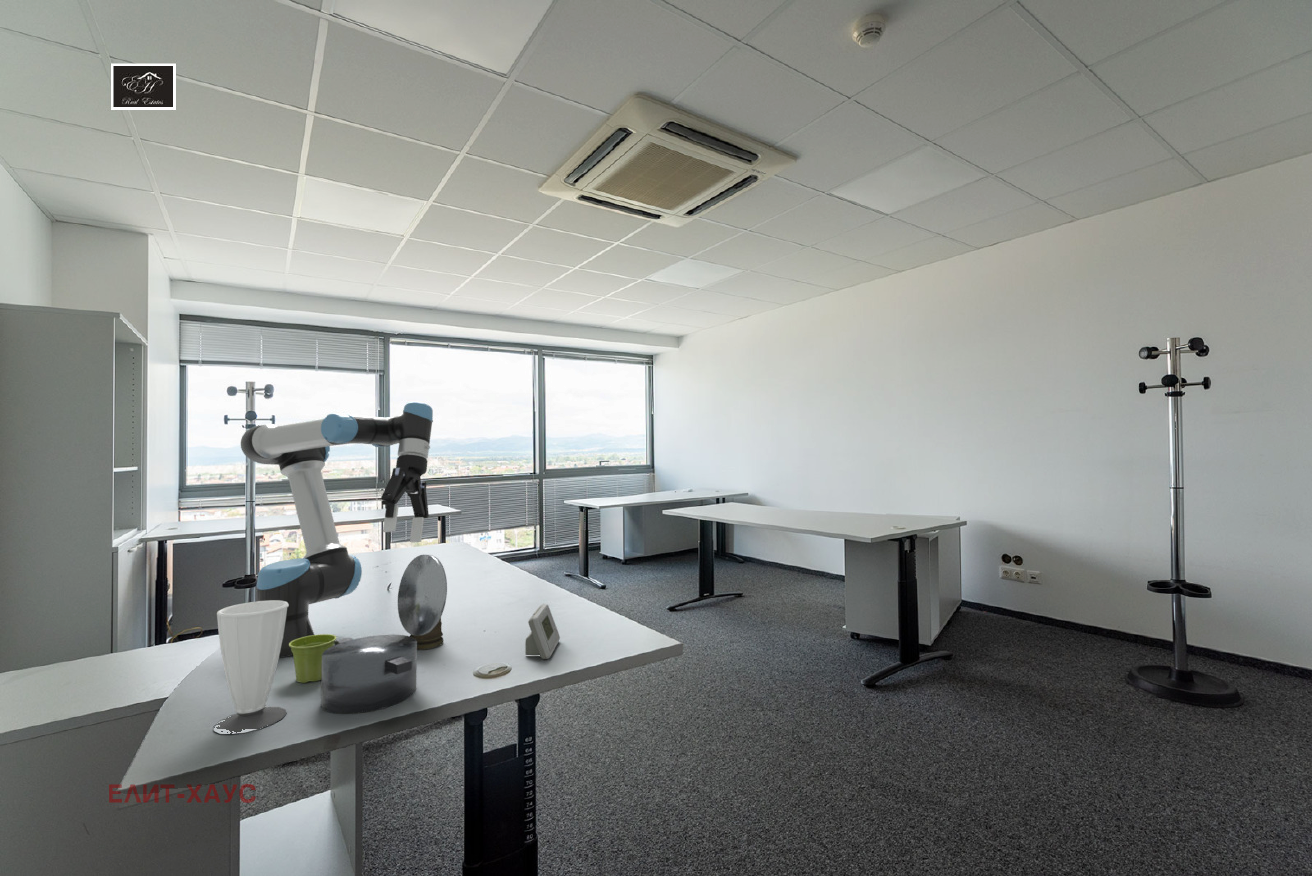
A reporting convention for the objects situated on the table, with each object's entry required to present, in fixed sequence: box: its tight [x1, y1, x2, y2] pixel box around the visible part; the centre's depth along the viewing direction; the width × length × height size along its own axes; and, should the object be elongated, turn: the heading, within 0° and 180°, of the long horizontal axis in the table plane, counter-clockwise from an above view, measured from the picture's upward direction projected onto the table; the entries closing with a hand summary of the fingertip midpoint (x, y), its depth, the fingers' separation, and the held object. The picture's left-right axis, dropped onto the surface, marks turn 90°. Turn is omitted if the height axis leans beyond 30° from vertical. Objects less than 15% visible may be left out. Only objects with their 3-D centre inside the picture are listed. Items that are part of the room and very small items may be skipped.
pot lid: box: [397, 554, 448, 636], centre depth 128 cm, size 18×18×2 cm
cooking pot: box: [320, 634, 418, 715], centre depth 118 cm, size 27×18×10 cm, turn 54°
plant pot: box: [289, 633, 337, 684], centre depth 128 cm, size 9×9×9 cm
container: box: [409, 617, 444, 651], centre depth 151 cm, size 9×9×18 cm
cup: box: [213, 600, 289, 734], centre depth 107 cm, size 12×12×22 cm
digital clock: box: [524, 603, 561, 660], centre depth 145 cm, size 16×9×11 cm, turn 169°
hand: (402, 537), depth 140 cm, fingers open, 13 cm apart
